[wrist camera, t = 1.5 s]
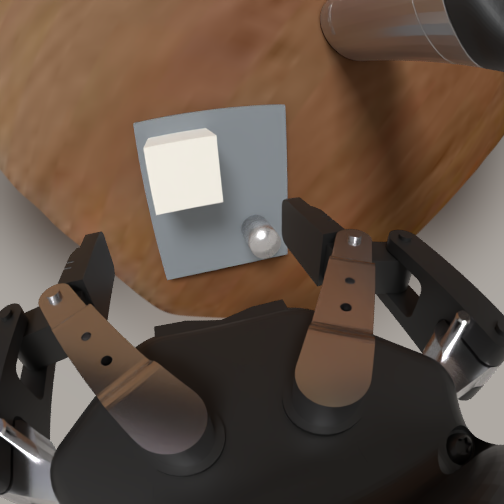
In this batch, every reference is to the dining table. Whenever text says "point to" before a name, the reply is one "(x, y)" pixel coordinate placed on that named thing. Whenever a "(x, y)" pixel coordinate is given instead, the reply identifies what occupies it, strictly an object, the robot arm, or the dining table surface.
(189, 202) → the cream rounded cube
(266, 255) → the stub
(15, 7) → the dining table surface
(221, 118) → the base plate
